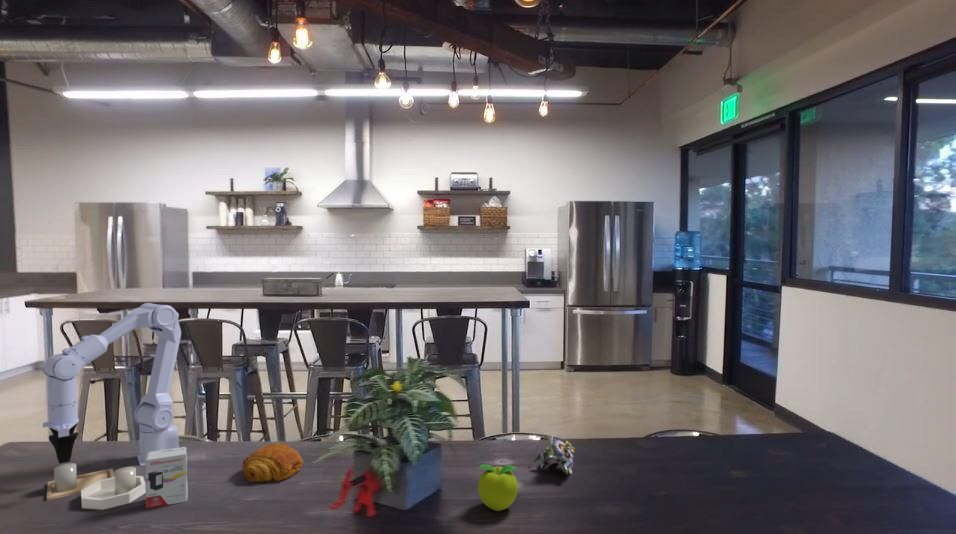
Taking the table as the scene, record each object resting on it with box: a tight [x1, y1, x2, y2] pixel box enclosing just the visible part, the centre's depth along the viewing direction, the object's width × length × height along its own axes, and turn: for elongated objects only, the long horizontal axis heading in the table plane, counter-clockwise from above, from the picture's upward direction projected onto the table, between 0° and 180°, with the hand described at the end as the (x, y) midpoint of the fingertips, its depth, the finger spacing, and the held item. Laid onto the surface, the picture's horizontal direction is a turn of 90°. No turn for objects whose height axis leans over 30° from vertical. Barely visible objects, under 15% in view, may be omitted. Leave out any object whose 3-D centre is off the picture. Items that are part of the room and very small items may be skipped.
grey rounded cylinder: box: [113, 466, 137, 495], centre depth 132 cm, size 4×4×5 cm
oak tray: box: [46, 468, 115, 501], centre depth 136 cm, size 14×11×1 cm
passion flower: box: [533, 435, 577, 476], centre depth 146 cm, size 11×11×12 cm
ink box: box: [145, 446, 189, 510], centre depth 128 cm, size 9×5×12 cm, turn 117°
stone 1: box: [53, 462, 78, 492], centre depth 134 cm, size 4×4×5 cm
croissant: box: [242, 442, 304, 483], centre depth 145 cm, size 14×16×8 cm
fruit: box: [477, 463, 519, 512], centre depth 126 cm, size 9×9×10 cm
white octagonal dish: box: [80, 475, 146, 511], centre depth 130 cm, size 13×13×3 cm
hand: (64, 457), depth 134 cm, fingers open, 7 cm apart
